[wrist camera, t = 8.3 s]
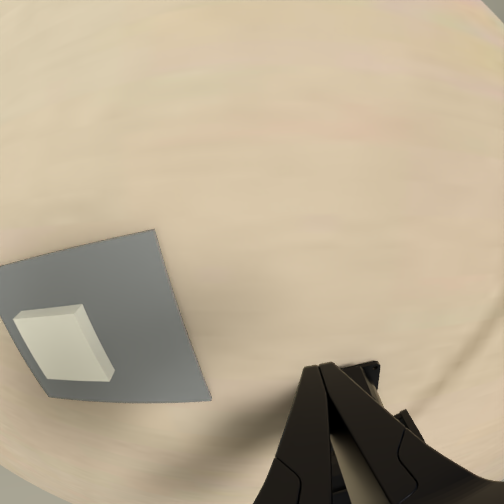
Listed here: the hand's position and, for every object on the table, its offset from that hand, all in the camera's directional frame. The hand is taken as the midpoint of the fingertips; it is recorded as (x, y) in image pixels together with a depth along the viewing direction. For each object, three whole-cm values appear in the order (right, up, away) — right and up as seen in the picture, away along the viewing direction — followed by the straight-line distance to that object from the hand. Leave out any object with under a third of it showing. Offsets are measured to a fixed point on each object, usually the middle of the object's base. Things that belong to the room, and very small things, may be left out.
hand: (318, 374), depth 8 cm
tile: (-15, -4, +14) cm, 20 cm away
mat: (-17, -4, +15) cm, 23 cm away
